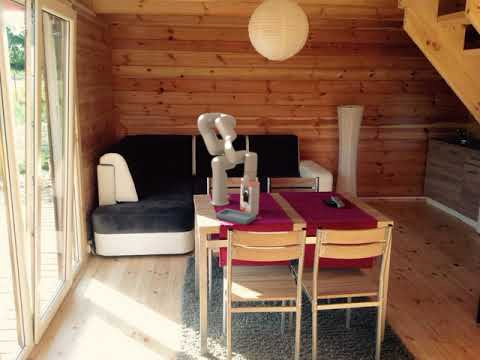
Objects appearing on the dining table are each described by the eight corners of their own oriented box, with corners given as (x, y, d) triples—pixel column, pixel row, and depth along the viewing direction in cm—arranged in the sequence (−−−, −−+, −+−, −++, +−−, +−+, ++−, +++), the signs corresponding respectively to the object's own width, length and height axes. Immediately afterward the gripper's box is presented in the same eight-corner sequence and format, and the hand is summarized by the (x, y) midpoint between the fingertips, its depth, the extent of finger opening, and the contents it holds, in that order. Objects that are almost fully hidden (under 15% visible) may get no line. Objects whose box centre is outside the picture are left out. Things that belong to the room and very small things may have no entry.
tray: (226, 213, 279) (226, 208, 278) (255, 219, 269) (255, 214, 268) (215, 218, 269) (215, 213, 269) (245, 224, 259) (246, 219, 259)
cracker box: (239, 209, 287) (240, 177, 282) (247, 208, 289) (249, 176, 284) (250, 216, 275) (251, 182, 270) (258, 215, 277) (260, 181, 272)
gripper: (252, 169, 285) (251, 196, 289) (237, 174, 271) (236, 202, 275) (262, 171, 281) (261, 198, 286) (248, 176, 267) (247, 204, 271)
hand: (249, 200), depth 280 cm, fingers closed on cracker box, 9 cm apart
